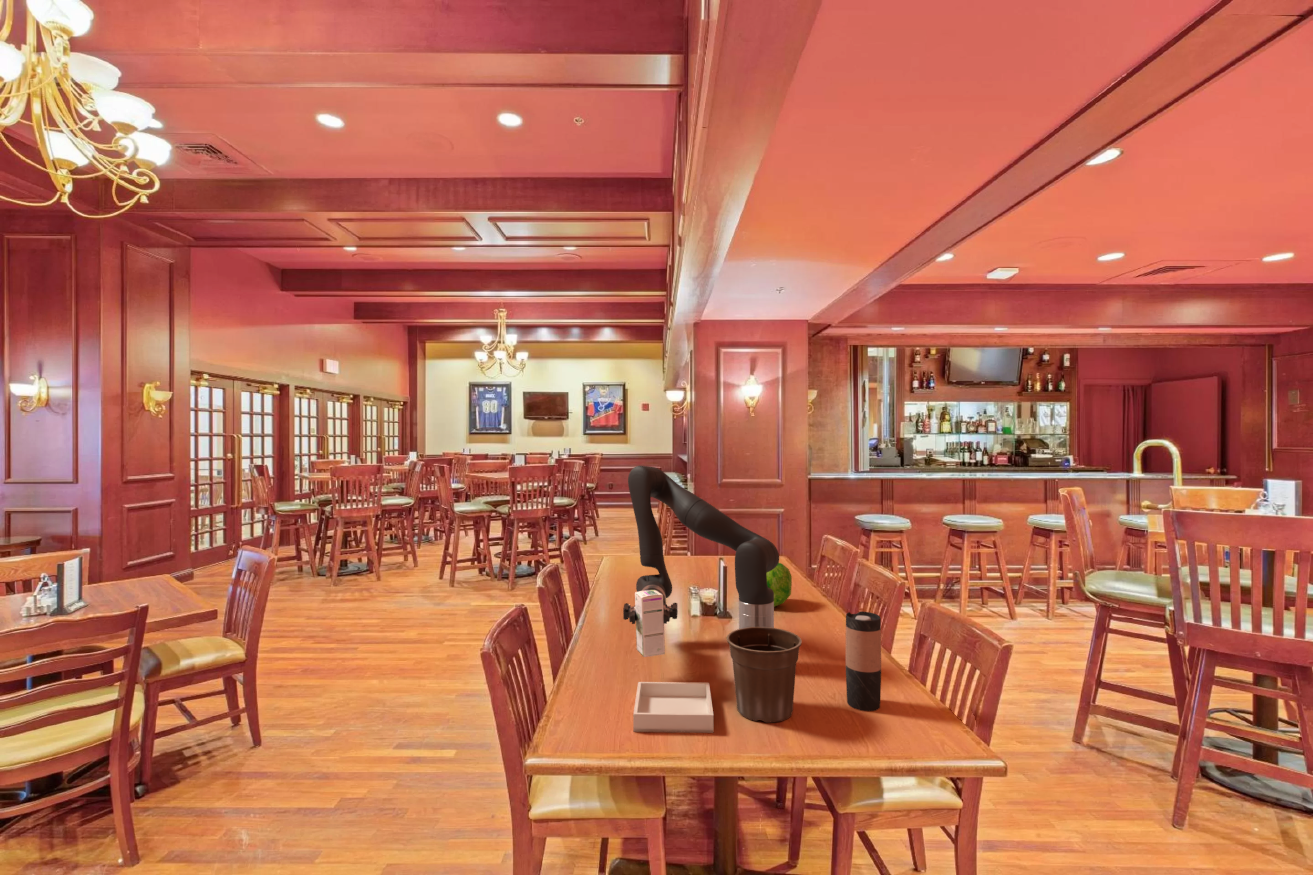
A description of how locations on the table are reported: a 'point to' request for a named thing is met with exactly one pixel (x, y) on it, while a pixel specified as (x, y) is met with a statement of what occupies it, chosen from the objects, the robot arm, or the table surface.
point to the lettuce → (780, 583)
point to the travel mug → (863, 660)
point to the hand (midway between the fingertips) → (649, 619)
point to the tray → (673, 707)
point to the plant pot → (764, 671)
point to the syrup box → (649, 623)
